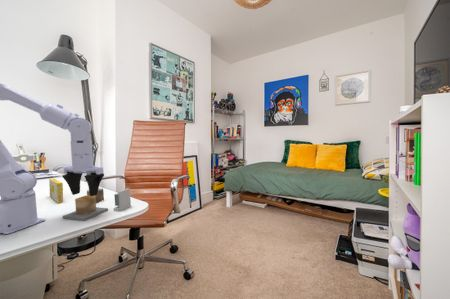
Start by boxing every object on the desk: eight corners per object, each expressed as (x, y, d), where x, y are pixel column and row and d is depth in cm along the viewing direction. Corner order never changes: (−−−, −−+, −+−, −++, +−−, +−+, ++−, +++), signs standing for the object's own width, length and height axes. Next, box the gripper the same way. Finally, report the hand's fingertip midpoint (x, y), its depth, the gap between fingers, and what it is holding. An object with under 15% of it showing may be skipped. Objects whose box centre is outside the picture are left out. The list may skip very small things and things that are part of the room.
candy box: (64, 202, 82) (62, 182, 81) (57, 204, 80) (55, 183, 80) (55, 195, 92) (54, 177, 92) (49, 196, 91) (48, 178, 90)
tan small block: (85, 214, 66) (84, 199, 66) (76, 213, 67) (75, 198, 67) (96, 210, 70) (95, 196, 69) (87, 209, 71) (86, 195, 70)
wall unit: (120, 211, 71) (119, 191, 70) (113, 210, 72) (112, 191, 71) (130, 206, 76) (129, 188, 75) (124, 205, 76) (123, 187, 76)
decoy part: (95, 203, 80) (94, 191, 79) (87, 202, 81) (86, 190, 80) (104, 200, 84) (103, 188, 83) (96, 199, 85) (95, 188, 84)
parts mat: (84, 220, 63) (84, 218, 63) (62, 218, 65) (62, 216, 65) (108, 210, 72) (107, 208, 72) (87, 208, 74) (87, 206, 74)
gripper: (109, 153, 69) (112, 192, 70) (76, 153, 73) (79, 190, 74) (91, 155, 62) (94, 198, 63) (56, 155, 66) (59, 195, 67)
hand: (84, 194), depth 68 cm, fingers open, 7 cm apart
